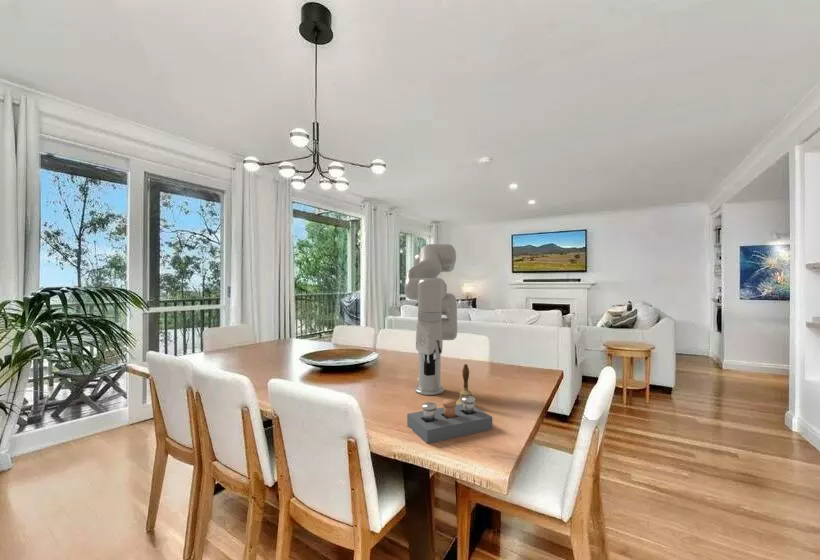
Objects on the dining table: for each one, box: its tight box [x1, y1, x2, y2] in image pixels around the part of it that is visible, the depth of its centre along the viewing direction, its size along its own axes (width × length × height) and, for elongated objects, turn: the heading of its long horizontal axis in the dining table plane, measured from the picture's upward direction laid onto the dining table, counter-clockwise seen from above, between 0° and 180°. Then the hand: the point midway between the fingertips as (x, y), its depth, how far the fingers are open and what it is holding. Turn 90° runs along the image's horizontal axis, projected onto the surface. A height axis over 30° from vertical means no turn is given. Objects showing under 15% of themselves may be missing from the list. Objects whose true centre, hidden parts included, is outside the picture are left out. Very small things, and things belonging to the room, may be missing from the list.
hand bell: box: [456, 363, 478, 409], centre depth 136 cm, size 8×8×16 cm
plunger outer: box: [422, 402, 437, 423], centre depth 114 cm, size 4×4×5 cm
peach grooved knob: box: [442, 398, 457, 419], centre depth 117 cm, size 4×4×5 cm
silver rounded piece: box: [462, 395, 476, 415], centre depth 120 cm, size 4×4×5 cm
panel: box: [406, 404, 493, 445], centre depth 117 cm, size 14×24×4 cm, turn 115°
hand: (429, 374), depth 113 cm, fingers closed
